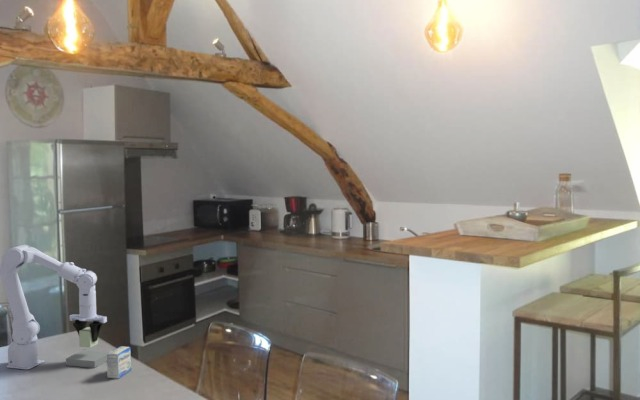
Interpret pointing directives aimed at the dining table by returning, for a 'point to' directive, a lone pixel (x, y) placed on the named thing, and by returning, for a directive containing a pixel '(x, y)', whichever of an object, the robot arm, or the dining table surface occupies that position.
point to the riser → (87, 358)
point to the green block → (86, 338)
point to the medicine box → (118, 362)
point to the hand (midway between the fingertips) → (88, 340)
